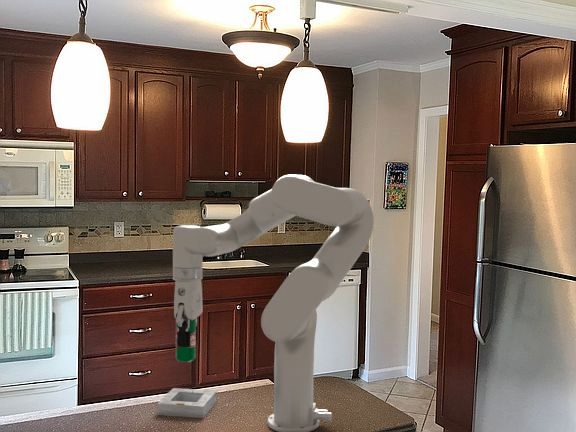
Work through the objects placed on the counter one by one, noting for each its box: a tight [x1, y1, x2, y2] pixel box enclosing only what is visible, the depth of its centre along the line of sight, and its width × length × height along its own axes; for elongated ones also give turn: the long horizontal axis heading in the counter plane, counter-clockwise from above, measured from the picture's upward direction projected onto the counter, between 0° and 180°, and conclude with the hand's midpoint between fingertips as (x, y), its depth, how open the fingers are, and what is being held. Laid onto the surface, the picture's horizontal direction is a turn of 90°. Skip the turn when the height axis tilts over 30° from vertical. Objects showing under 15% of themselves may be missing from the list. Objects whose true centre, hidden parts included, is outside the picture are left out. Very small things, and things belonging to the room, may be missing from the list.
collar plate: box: [156, 387, 217, 419], centre depth 162 cm, size 12×12×3 cm
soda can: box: [175, 316, 197, 363], centre depth 161 cm, size 5×5×12 cm
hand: (187, 343), depth 161 cm, fingers closed on soda can, 5 cm apart
